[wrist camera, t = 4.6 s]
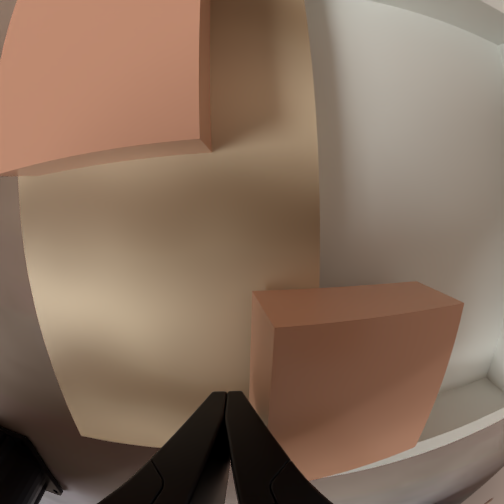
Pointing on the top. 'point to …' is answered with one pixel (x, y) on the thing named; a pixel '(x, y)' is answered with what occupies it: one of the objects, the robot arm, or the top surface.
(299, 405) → the tile
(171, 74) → the tile
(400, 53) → the tray
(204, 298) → the oak board
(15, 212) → the top surface
